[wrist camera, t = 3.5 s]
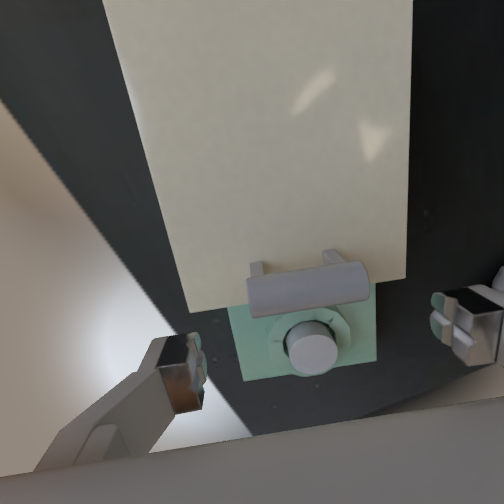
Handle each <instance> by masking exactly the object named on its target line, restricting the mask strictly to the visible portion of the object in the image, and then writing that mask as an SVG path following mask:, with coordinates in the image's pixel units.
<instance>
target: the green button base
mask: <svg viewBox="0 0 504 504" xmlns="http://www.w3.org/2000/svg"><path fill="white" fill-rule="evenodd" d="M227 310H228V314H229V318H230V323H231V327H232V332H233V336H234V341H235V345H236V350H237V354H238V359H239V363H240V367H241V372H242V376H243V381H249V380H256V379H262V378H269V377H275V376H281V375H288V374H294V375H298V376H301V377H307V376H313V375H319V374H324V373H326V372H327V371H329V370H330V369H332V368H333V367H339V366H346V365H352V364H359V363H365V362H372V361H376V293H375V283H373V284H370V296H369V299H368V300H366V301H361V302H355V303H349V304H342V305H336V306H330V307H324V308H318V309H311V310H305V311H299V312H293V313H286V314H280V315H274V316H268V317H262V318H255V319H254V318H252V316H251V313H250V309H249V304H243V305H237V306H231V307H227ZM305 321H316V322H319V323H322V324H323V325H325V326H326V327H327V328H328V329H329V331H330V333H331V335H332V337H333V339H334V341H335V343H336V345H337V348H338V357H337V360H336V362H335V363H334V364H333V366H332V367H330V368H329V369H328V370H326V371H324V372H322V373H319V374H304V373H301V372H299V371H298V370H296V369H295V368H294V367H293V366H292V364H291V362H290V359H289V354H288V350H287V345H286V338H287V335H288V333H289V332H290V330H291V329H292V328H293V327H294V326H296V325H297V324H299V323H302V322H305Z"/></svg>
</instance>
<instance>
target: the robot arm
mask: <svg viewBox="0 0 504 504" xmlns="http://www.w3.org/2000/svg"><path fill="white" fill-rule="evenodd" d="M431 305H432V306H433V307H434V308H435V310H434V311H433V312H432V314H431V315H430V325H431V328H432V331H433V333H434V335H435V336H436V338H438V339H439V340H440V341H441V342H442V343H444V344H447V345H449V346H451V347H452V353H454V354H455V355H456V356H457V357H458V358H459V359H460V360H461V361H462V362H463V363H465V364H466V365H467V366H474V365H481V364H489V363H496V364H498V365H500V366H502V367H504V295H502V294H500V293H498V292H496V291H495V290H493V289H491V288H489V287H487V286H485V285H480V284H477V285H472V286H467V287H463V288H458V289H453V290H448V291H442V292H437V293H433V295H432V297H431ZM200 346H201V340H200V336H199V334H198V333H197V332H194V333H187V334H180V335H173V336H169V337H168V336H166V337H161V338H155V339H153V340H152V342H151V344H150V346H149V348H148V350H147V352H146V354H145V356H144V359H143V360H142V363H141V365H140V367H139V369H138V371H137V372H133V373H131V374H130V375H129V376H128V377H126V378H125V379H124V380H123V381H121V382H120V383H119V384H118V385H116V386H115V387H114V388H113V389H111V390H110V391H109V392H108V393H106V394H105V395H104V396H103V397H101V398H100V399H99V400H97V401H96V402H95V403H94V404H92V405H91V406H90V407H89V408H87V409H86V410H85V411H84V412H83V413H81V414H80V415H79V416H77V417H76V418H75V419H74V420H72V421H71V422H70V423H69V424H67V425H66V426H65V427H64V428H63V429H61V430H60V431H59V433H58V434H57V436H56V437H55V439H54V440H53V442H52V443H51V445H50V446H49V448H48V450H47V451H46V453H45V454H44V455H43V457H42V459H41V460H40V462H39V463H38V465H37V466H36V468H35V469H34V471H33V472H29V473H23V474H17V475H10V476H4V477H0V504H504V396H502V397H496V398H489V399H483V400H477V401H471V402H464V403H458V404H452V405H445V406H439V407H433V408H427V409H420V410H415V411H408V412H402V413H396V414H390V415H384V416H378V417H371V418H365V419H359V420H353V421H346V422H340V423H334V424H328V425H322V426H316V427H309V428H303V429H297V430H291V431H285V432H278V433H272V434H266V435H260V436H253V437H247V438H241V439H235V440H229V441H223V442H216V443H211V444H204V445H197V446H191V447H185V448H179V449H172V450H166V451H160V452H154V453H149V451H150V450H151V449H152V447H153V445H154V444H155V443H156V442H157V440H158V439H159V438H160V436H161V435H162V434H163V432H164V431H165V430H166V428H167V427H168V425H169V424H170V422H171V421H172V420H173V419H174V417H175V415H176V414H181V413H186V412H192V411H197V410H201V409H202V405H203V399H204V389H203V384H204V383H205V382H206V378H207V364H206V358H205V354H204V352H203V351H201V350H200Z"/></svg>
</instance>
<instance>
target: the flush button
mask: <svg viewBox="0 0 504 504" xmlns="http://www.w3.org/2000/svg"><path fill="white" fill-rule="evenodd" d="M286 345H287V350H288V354H289V359H290V362H291V364H292V366H293V367H294V368H295V369H296V370H298V371H299V372H301V373H304V374H319V373H322V372H324V371H326V370H328V369H329V368H330V367H332V366H333V364H334V363H335V362H336V360H337V357H338V348H337V345H336V343H335V341H334V339H333V337H332V335H331V333H330V331H329V329H328V328H327V327H326V326H325V325H323V324H322V323H319V322H316V321H305V322H302V323H299V324H297V325H296V326H294V327H293V328H292V329H291V330H290V332H289V333H288V335H287V338H286Z"/></svg>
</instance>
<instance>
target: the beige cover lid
mask: <svg viewBox="0 0 504 504" xmlns="http://www.w3.org/2000/svg"><path fill="white" fill-rule="evenodd" d="M102 1H103V4H104V8H105V12H106V15H107V19H108V22H109V26H110V29H111V33H112V37H113V40H114V44H115V47H116V51H117V55H118V58H119V62H120V65H121V69H122V72H123V76H124V80H125V83H126V87H127V90H128V94H129V97H130V101H131V105H132V108H133V112H134V115H135V119H136V123H137V126H138V130H139V133H140V137H141V140H142V144H143V148H144V151H145V155H146V158H147V162H148V165H149V169H150V173H151V176H152V180H153V183H154V187H155V190H156V194H157V198H158V201H159V205H160V208H161V212H162V216H163V219H164V223H165V226H166V230H167V233H168V237H169V241H170V244H171V248H172V251H173V255H174V258H175V262H176V266H177V269H178V273H179V276H180V280H181V283H182V287H183V291H184V294H185V298H186V301H187V305H188V309H189V312H190V313H194V312H200V311H206V310H212V309H218V308H224V307H231V306H237V305H243V304H249V309H250V313H251V316H252V318H254V319H255V318H262V317H268V316H274V315H280V314H286V313H293V312H299V311H305V310H311V309H318V308H324V307H330V306H336V305H342V304H349V303H355V302H361V301H366V300H368V299H369V296H370V284H373V283H379V282H385V281H391V280H397V279H403V278H405V277H406V242H407V204H408V167H409V130H410V92H411V55H412V17H413V0H102Z"/></svg>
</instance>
